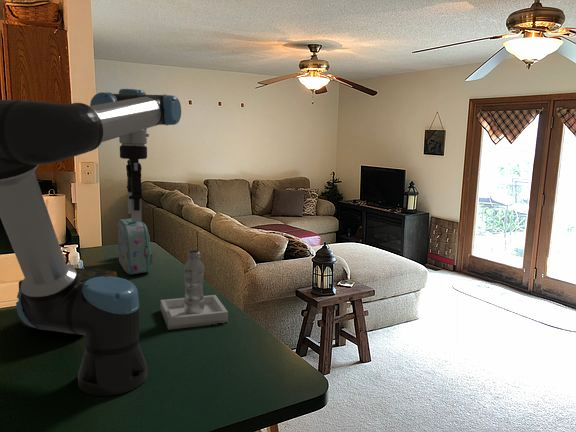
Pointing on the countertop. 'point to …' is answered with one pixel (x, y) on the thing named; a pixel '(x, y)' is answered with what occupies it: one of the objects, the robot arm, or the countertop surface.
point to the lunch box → (134, 247)
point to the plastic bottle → (193, 283)
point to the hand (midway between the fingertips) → (134, 217)
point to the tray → (180, 319)
